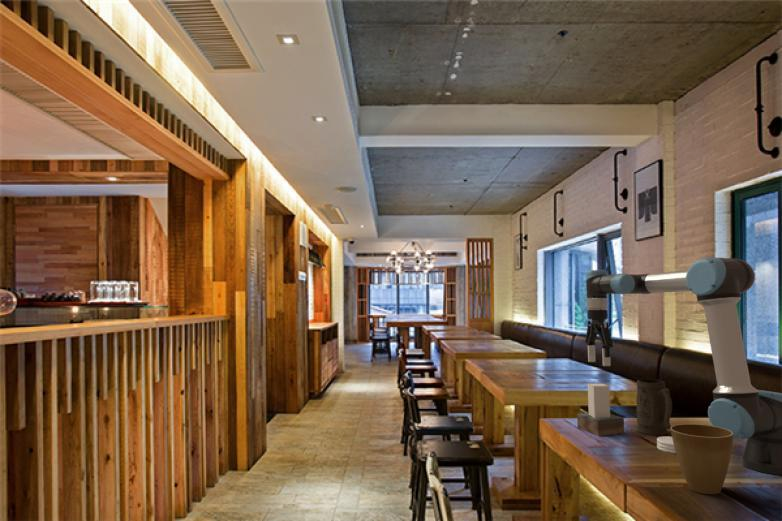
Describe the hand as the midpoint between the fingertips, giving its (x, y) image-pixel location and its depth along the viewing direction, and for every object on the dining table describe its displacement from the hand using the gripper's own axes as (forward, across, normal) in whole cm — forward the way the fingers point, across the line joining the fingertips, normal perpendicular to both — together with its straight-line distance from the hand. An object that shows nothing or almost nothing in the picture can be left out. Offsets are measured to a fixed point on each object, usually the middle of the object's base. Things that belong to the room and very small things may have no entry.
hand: (599, 363), depth 209 cm
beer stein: (+26, -4, -20) cm, 33 cm away
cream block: (+20, 0, 0) cm, 20 cm away
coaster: (+26, -26, -14) cm, 39 cm away
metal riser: (+26, +1, 0) cm, 26 cm away
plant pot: (+27, -62, -1) cm, 68 cm away
